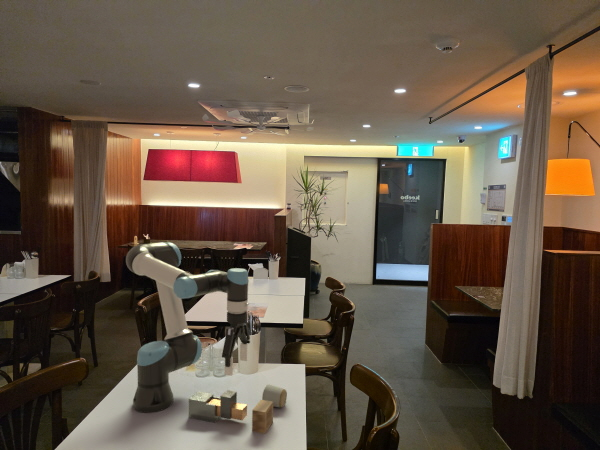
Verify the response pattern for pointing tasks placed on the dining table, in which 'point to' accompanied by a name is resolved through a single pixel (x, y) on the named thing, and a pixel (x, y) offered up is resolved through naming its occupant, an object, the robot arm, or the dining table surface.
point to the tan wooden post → (229, 406)
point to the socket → (262, 416)
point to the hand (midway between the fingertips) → (236, 367)
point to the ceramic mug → (275, 395)
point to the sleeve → (203, 407)
